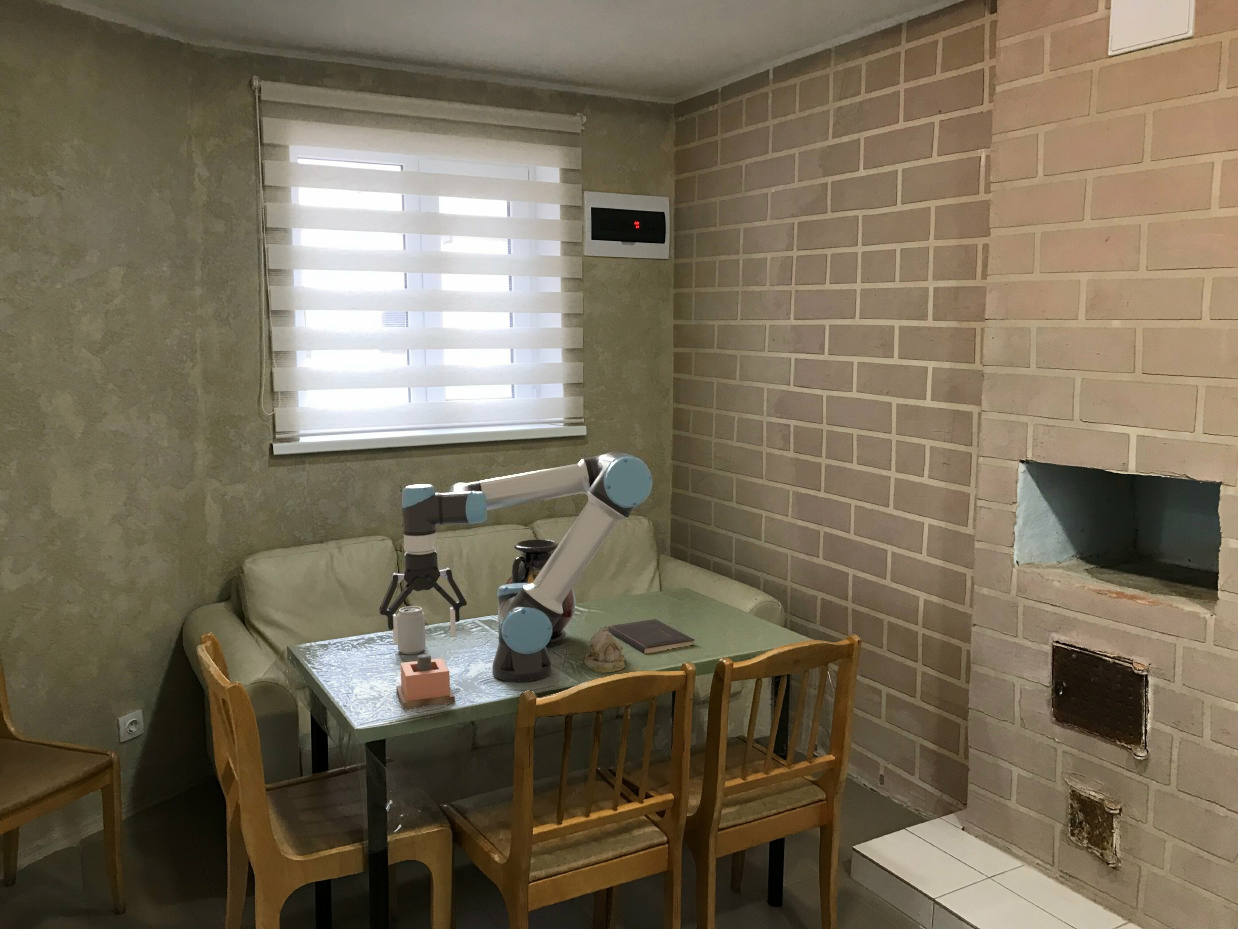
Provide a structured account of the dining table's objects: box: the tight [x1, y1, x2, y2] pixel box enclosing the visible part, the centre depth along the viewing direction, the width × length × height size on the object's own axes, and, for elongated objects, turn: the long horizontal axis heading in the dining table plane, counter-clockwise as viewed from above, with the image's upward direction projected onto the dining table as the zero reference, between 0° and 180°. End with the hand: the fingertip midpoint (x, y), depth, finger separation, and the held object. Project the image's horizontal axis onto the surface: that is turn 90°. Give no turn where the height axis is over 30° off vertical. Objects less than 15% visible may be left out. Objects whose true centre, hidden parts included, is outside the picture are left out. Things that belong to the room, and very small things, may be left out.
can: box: [396, 605, 427, 655], centre depth 266 cm, size 8×8×12 cm
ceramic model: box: [583, 626, 626, 673], centre depth 254 cm, size 14×11×10 cm
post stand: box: [395, 654, 456, 710], centre depth 231 cm, size 12×12×10 cm
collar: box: [400, 657, 451, 701], centre depth 231 cm, size 10×10×6 cm
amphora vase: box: [503, 539, 576, 648], centre depth 274 cm, size 22×22×28 cm
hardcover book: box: [607, 618, 696, 655], centre depth 276 cm, size 16×23×2 cm
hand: (424, 639), depth 230 cm, fingers open, 13 cm apart
